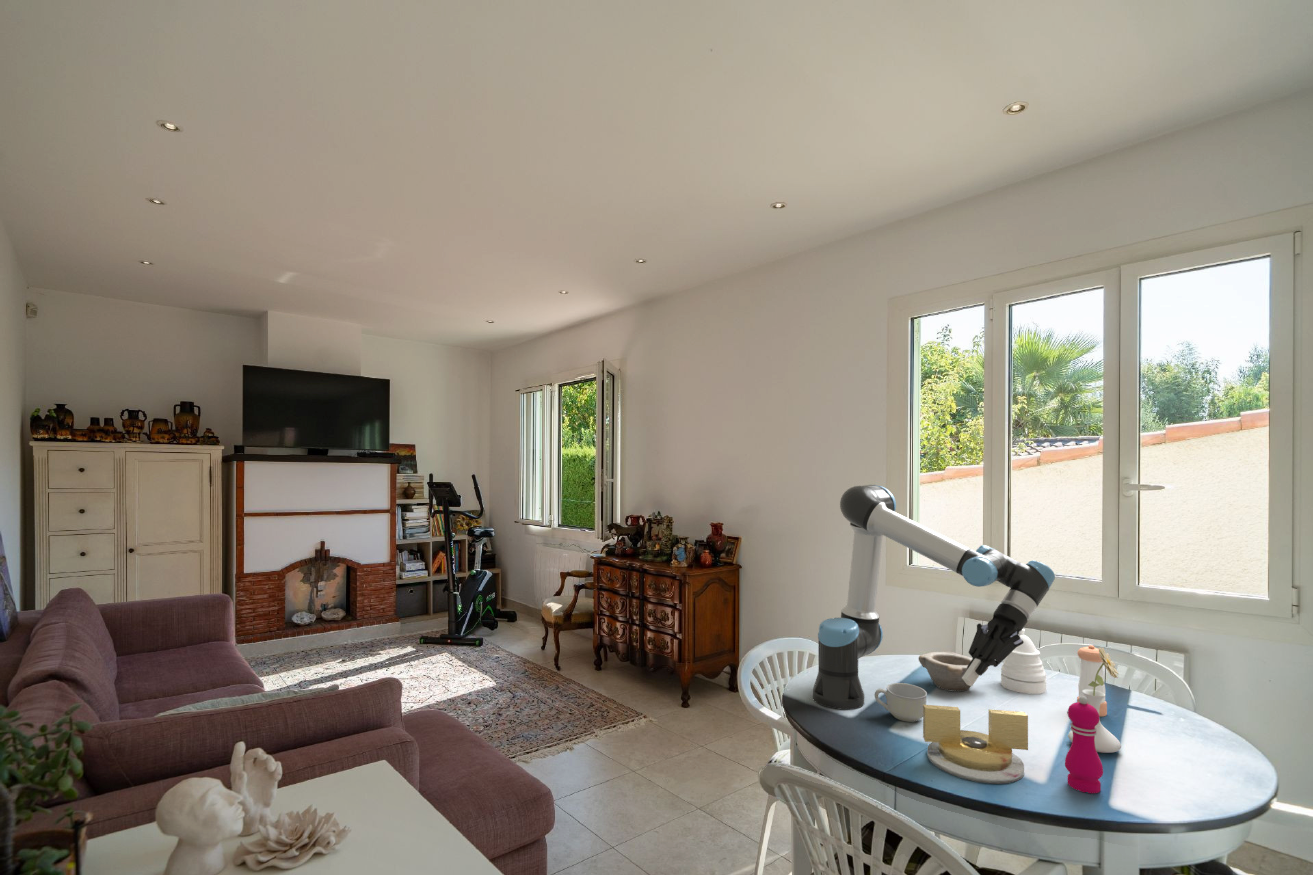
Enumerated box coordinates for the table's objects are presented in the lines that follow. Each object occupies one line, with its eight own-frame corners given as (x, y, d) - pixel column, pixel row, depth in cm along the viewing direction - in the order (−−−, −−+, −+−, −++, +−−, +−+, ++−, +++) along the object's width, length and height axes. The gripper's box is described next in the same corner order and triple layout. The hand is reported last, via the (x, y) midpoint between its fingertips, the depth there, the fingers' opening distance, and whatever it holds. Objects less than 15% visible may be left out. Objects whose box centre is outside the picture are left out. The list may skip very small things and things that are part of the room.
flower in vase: (1104, 760, 163) (1104, 657, 164) (1058, 743, 173) (1057, 645, 174) (1134, 750, 169) (1133, 650, 170) (1088, 734, 179) (1087, 639, 180)
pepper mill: (1057, 779, 153) (1057, 690, 154) (1087, 778, 154) (1086, 690, 155) (1080, 795, 146) (1079, 702, 147) (1111, 794, 147) (1110, 701, 148)
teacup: (925, 713, 193) (925, 685, 193) (928, 727, 182) (928, 697, 183) (874, 707, 197) (874, 679, 197) (874, 720, 187) (874, 691, 187)
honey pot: (995, 679, 224) (994, 624, 224) (1036, 681, 222) (1036, 626, 223) (1009, 692, 211) (1009, 634, 212) (1053, 695, 209) (1053, 636, 210)
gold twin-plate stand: (986, 778, 149) (986, 730, 150) (918, 749, 164) (918, 705, 164) (1031, 759, 159) (1031, 714, 160) (963, 733, 174) (963, 692, 174)
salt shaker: (1106, 718, 190) (1105, 650, 191) (1075, 712, 195) (1075, 645, 195) (1107, 711, 196) (1107, 644, 197) (1078, 705, 201) (1078, 640, 201)
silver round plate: (926, 772, 156) (926, 765, 156) (928, 738, 175) (928, 731, 175) (1029, 791, 148) (1029, 783, 148) (1019, 753, 167) (1019, 746, 167)
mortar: (993, 692, 211) (993, 662, 211) (953, 699, 205) (953, 668, 205) (950, 676, 227) (951, 648, 227) (912, 681, 220) (912, 653, 220)
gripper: (1043, 627, 173) (996, 700, 166) (1000, 615, 185) (954, 683, 178) (1029, 607, 171) (980, 681, 164) (986, 597, 183) (939, 665, 176)
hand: (966, 682), depth 171 cm, fingers closed
